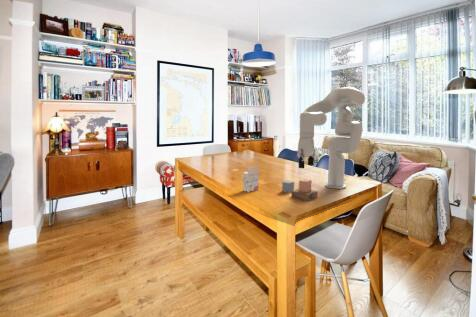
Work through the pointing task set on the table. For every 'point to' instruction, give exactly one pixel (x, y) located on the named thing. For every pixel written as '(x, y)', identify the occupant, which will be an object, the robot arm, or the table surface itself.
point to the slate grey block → (287, 186)
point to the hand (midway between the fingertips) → (306, 166)
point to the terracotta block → (305, 185)
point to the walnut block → (304, 195)
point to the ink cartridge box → (250, 179)
